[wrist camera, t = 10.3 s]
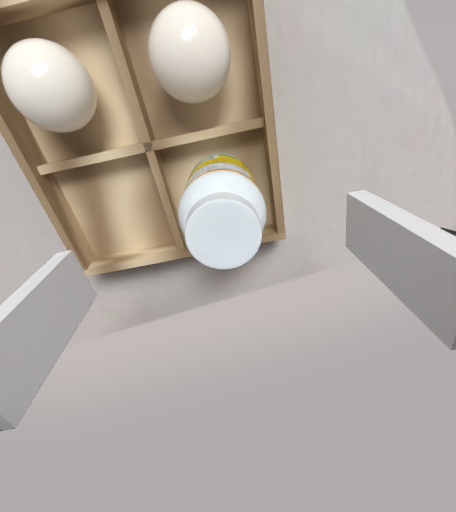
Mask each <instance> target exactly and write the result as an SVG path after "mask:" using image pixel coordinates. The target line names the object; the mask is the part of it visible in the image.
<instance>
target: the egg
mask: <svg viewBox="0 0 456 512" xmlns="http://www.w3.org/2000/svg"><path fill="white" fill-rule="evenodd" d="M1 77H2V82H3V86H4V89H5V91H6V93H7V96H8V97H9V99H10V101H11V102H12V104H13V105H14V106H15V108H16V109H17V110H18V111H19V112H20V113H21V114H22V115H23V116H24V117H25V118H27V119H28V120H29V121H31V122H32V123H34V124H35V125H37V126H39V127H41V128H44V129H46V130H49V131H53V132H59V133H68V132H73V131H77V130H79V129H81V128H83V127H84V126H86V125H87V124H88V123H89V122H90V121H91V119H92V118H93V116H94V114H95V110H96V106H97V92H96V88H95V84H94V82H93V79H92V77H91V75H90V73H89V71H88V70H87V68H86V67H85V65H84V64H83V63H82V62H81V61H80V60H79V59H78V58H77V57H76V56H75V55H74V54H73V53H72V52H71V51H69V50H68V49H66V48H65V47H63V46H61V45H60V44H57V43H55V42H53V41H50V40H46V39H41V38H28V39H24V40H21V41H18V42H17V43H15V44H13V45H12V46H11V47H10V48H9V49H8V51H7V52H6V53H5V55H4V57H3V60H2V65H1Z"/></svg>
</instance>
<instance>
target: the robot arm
mask: <svg viewBox="0 0 456 512" xmlns="http://www.w3.org/2000/svg"><path fill="white" fill-rule="evenodd" d="M346 247H347V248H348V249H349V250H350V251H351V252H352V253H353V254H354V255H355V256H356V257H357V258H358V259H359V260H360V261H361V262H363V263H364V265H366V267H367V268H368V269H370V270H371V271H372V273H373V274H375V275H376V276H377V277H378V278H379V279H380V280H381V281H382V282H383V283H384V284H385V285H386V286H387V287H388V288H389V289H390V290H391V291H392V292H393V293H394V294H395V295H396V296H397V297H398V298H399V299H400V300H401V301H402V302H403V303H404V304H405V305H406V306H407V307H408V308H409V309H410V310H411V311H412V312H413V313H414V314H415V315H416V316H417V317H418V318H419V319H420V320H421V321H422V322H423V323H424V324H425V325H426V326H427V327H428V328H429V329H430V330H431V331H432V332H433V333H434V334H435V335H436V336H437V337H438V338H439V339H440V340H441V341H442V342H443V343H444V344H445V345H446V346H447V347H448V348H449V349H450V350H455V349H456V231H452V230H449V229H445V228H438V227H436V226H434V225H432V224H431V223H429V222H427V221H425V220H423V219H421V218H419V217H417V216H415V215H413V214H411V213H409V212H407V211H405V210H403V209H401V208H399V207H397V206H395V205H393V204H391V203H389V202H387V201H385V200H383V199H381V198H379V197H377V196H376V195H374V194H372V193H370V192H368V191H366V190H360V191H355V192H350V193H347V217H346ZM96 296H97V294H96V292H95V290H94V288H93V287H92V285H91V283H90V281H89V279H88V278H87V276H86V274H85V272H84V270H83V269H82V267H81V265H80V263H79V261H78V260H77V258H76V256H75V254H74V252H73V251H72V250H69V251H64V252H59V253H56V254H55V255H54V256H53V257H52V258H51V259H50V260H49V261H48V262H46V263H45V264H44V265H43V266H42V267H41V268H40V269H39V270H38V271H37V272H36V273H35V274H34V275H32V276H31V277H30V278H29V279H28V280H27V281H26V282H25V283H24V284H23V285H22V286H21V287H20V288H18V289H17V290H16V291H15V292H14V293H13V294H12V295H11V296H10V297H9V298H8V299H7V300H6V301H5V302H3V303H2V304H1V305H0V431H4V430H9V429H15V428H16V427H17V426H18V424H19V422H20V421H21V419H22V417H23V416H24V414H25V412H26V411H27V409H28V408H29V406H30V404H31V403H32V401H33V399H34V397H35V396H36V394H37V393H38V391H39V389H40V388H41V386H42V384H43V383H44V381H45V380H46V378H47V376H48V375H49V373H50V371H51V370H52V368H53V366H54V365H55V363H56V362H57V360H58V358H59V357H60V355H61V353H62V352H63V350H64V349H65V347H66V345H67V344H68V342H69V340H70V339H71V337H72V335H73V334H74V332H75V331H76V329H77V327H78V326H79V324H80V322H81V321H82V319H83V317H84V316H85V314H86V313H87V311H88V309H89V308H90V306H91V304H92V303H93V301H94V299H95V298H96Z"/></svg>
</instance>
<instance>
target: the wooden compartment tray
mask: <svg viewBox="0 0 456 512" xmlns="http://www.w3.org/2000/svg"><path fill="white" fill-rule="evenodd" d="M176 1H179V0H0V132H1V134H2V136H3V137H4V139H5V141H6V143H7V144H8V146H9V148H10V150H11V151H12V153H13V155H14V157H15V159H16V160H17V162H18V164H19V166H20V167H21V169H22V171H23V173H24V174H25V176H26V178H27V180H28V182H29V183H30V185H31V187H32V189H33V190H34V192H35V194H36V196H37V197H38V199H39V201H40V203H41V205H42V206H43V208H44V210H45V212H46V213H47V215H48V217H49V219H50V220H51V222H52V224H53V226H54V228H55V229H56V231H57V233H58V235H59V236H60V238H61V240H62V242H63V243H64V245H65V247H66V249H67V250H68V251H69V250H72V251H73V252H74V254H75V256H76V258H77V260H78V261H79V263H80V265H81V267H82V269H83V270H84V272H85V274H86V276H92V275H98V274H103V273H108V272H113V271H119V270H124V269H129V268H134V267H140V266H145V265H150V264H155V263H161V262H166V261H171V260H176V259H182V258H187V257H192V256H193V255H192V254H191V253H190V251H189V249H188V247H187V245H186V241H185V235H184V234H183V232H182V229H181V227H180V223H179V217H178V209H179V203H180V199H181V196H182V194H183V191H184V189H185V186H186V184H187V181H188V178H189V175H190V173H191V171H192V170H193V168H194V167H195V165H196V164H197V163H198V162H199V161H201V160H202V159H203V158H205V157H207V156H210V155H213V154H228V155H232V156H234V157H236V158H238V159H240V160H241V161H242V162H243V163H244V164H245V165H246V166H247V168H248V170H249V171H250V173H251V175H252V176H253V178H254V180H255V182H256V184H257V186H258V188H259V189H260V191H261V193H262V195H263V198H264V201H265V205H266V222H265V226H264V229H263V231H262V240H261V243H266V242H271V241H276V240H282V239H286V235H285V225H284V214H283V203H282V193H281V182H280V171H279V161H278V150H277V139H276V129H275V118H274V107H273V97H272V86H271V76H270V65H269V54H268V44H267V33H266V22H265V12H264V1H263V0H192V1H196V2H199V3H201V4H203V5H205V6H207V7H208V8H209V9H210V10H212V11H213V12H214V13H215V14H216V15H217V17H218V18H219V19H220V21H221V22H222V24H223V26H224V28H225V30H226V32H227V35H228V38H229V42H230V48H231V65H230V70H229V74H228V77H227V80H226V82H225V84H224V85H223V87H222V88H221V90H220V91H219V92H218V93H217V94H216V95H215V96H214V97H212V98H211V99H209V100H207V101H205V102H202V103H197V104H189V103H184V102H181V101H179V100H176V99H175V98H173V97H172V96H170V95H169V94H168V93H167V92H166V91H165V90H164V89H163V88H162V87H161V86H160V84H159V83H158V81H157V80H156V78H155V76H154V74H153V71H152V68H151V65H150V61H149V55H148V39H149V33H150V30H151V27H152V24H153V22H154V20H155V18H156V17H157V15H158V14H159V13H160V12H161V10H162V9H164V8H165V7H166V6H167V5H169V4H171V3H173V2H176ZM28 38H41V39H46V40H50V41H53V42H55V43H57V44H60V45H61V46H63V47H65V48H66V49H68V50H69V51H71V52H72V53H73V54H74V55H75V56H76V57H77V58H78V59H79V60H80V61H81V62H82V63H83V64H84V65H85V67H86V68H87V70H88V71H89V73H90V75H91V77H92V79H93V82H94V84H95V88H96V92H97V106H96V110H95V114H94V116H93V118H92V119H91V121H90V122H89V123H88V124H87V125H86V126H84V127H83V128H81V129H79V130H77V131H73V132H68V133H59V132H53V131H49V130H46V129H44V128H41V127H39V126H37V125H35V124H34V123H32V122H31V121H29V120H28V119H27V118H25V117H24V116H23V115H22V114H21V113H20V112H19V111H18V110H17V109H16V108H15V106H14V105H13V104H12V102H11V101H10V99H9V97H8V96H7V93H6V91H5V89H4V86H3V82H2V77H1V65H2V60H3V57H4V55H5V53H6V52H7V51H8V49H9V48H10V47H11V46H12V45H13V44H15V43H17V42H18V41H21V40H24V39H28Z"/></svg>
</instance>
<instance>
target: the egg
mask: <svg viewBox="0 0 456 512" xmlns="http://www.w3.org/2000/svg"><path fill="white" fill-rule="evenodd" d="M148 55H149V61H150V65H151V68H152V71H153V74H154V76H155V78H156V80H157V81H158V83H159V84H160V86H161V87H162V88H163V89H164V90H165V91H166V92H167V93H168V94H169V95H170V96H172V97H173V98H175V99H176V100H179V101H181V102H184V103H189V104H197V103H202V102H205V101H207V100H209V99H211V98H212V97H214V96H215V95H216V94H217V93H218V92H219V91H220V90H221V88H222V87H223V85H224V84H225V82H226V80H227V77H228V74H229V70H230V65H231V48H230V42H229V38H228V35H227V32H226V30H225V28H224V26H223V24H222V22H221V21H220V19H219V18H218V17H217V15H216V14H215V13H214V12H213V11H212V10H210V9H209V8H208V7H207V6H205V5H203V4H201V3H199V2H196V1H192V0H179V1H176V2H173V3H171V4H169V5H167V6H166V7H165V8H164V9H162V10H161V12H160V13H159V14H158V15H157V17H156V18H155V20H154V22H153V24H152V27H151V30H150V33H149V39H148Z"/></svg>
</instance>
